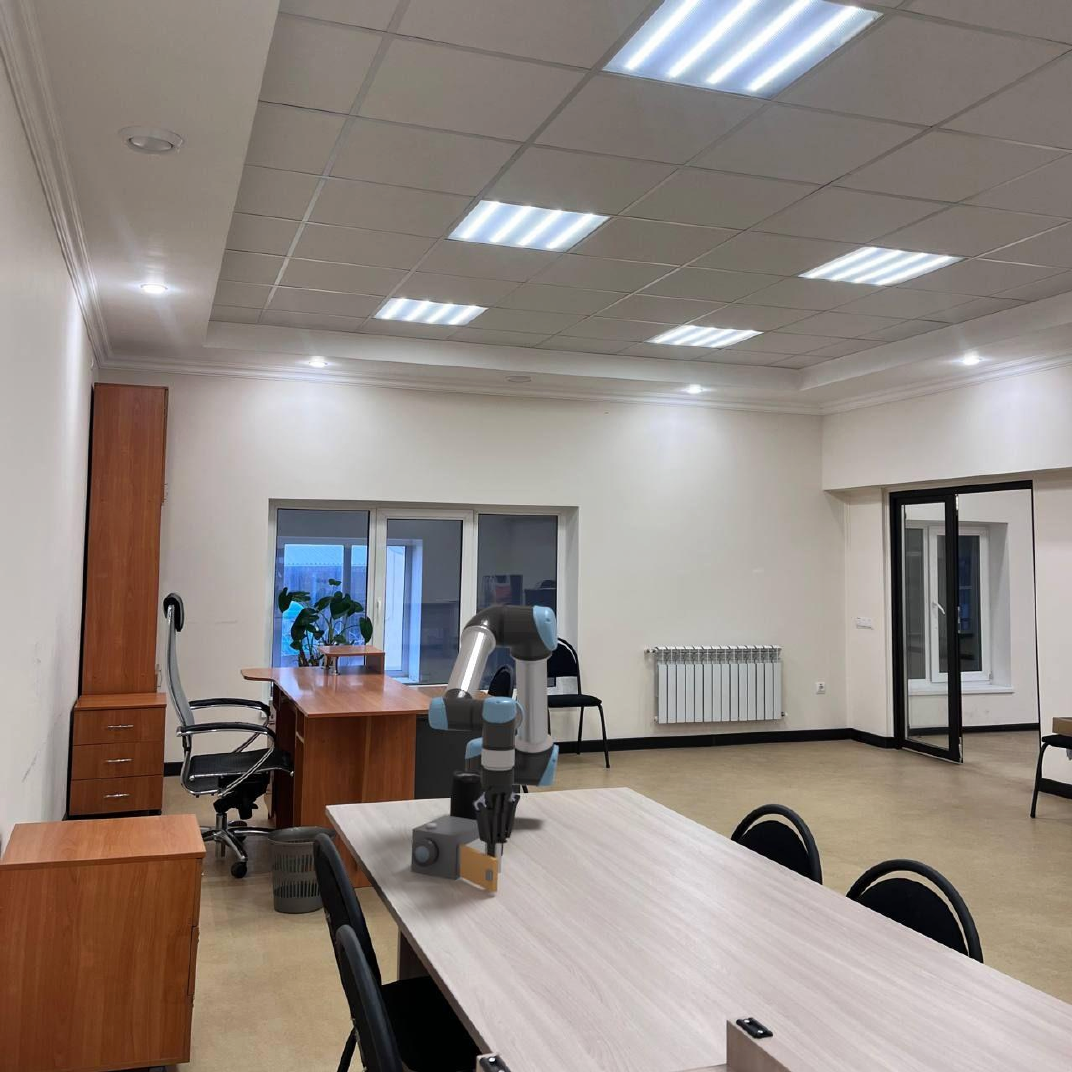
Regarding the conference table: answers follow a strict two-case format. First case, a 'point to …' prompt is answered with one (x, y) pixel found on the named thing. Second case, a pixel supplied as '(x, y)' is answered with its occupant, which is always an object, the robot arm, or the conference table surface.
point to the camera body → (443, 845)
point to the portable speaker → (465, 793)
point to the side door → (478, 867)
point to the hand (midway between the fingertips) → (494, 871)
